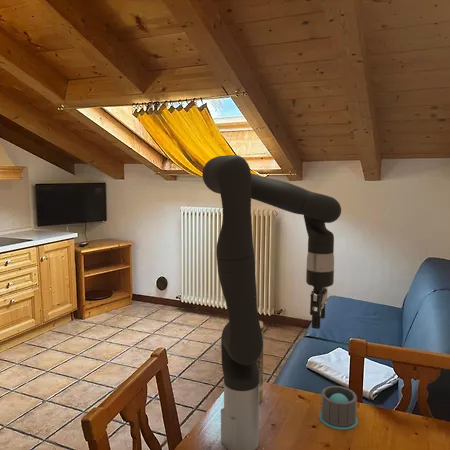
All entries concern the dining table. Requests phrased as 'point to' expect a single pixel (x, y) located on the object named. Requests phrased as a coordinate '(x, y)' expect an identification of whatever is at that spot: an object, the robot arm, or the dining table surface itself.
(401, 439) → the dining table surface
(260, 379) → the bark textured cylinder
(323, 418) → the grey ribbed round container
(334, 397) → the ball
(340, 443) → the dining table surface
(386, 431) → the dining table surface
